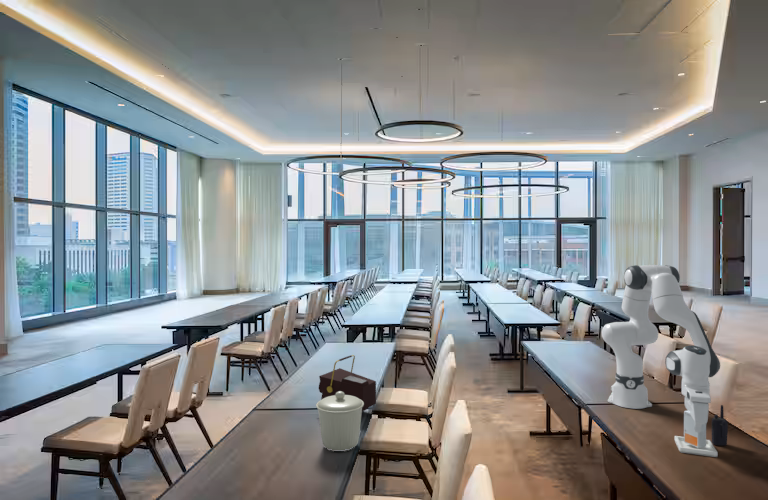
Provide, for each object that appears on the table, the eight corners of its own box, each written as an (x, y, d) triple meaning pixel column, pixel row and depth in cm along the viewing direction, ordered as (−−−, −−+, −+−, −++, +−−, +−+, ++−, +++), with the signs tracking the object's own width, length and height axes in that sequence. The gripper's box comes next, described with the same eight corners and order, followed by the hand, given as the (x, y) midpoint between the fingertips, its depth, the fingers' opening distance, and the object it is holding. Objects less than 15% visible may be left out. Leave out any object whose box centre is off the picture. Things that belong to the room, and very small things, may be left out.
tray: (674, 440, 191) (674, 435, 191) (709, 444, 187) (709, 440, 187) (680, 452, 181) (680, 447, 180) (717, 457, 176) (717, 452, 176)
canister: (320, 459, 177) (320, 401, 176) (313, 440, 194) (312, 386, 193) (369, 453, 182) (369, 396, 181) (358, 434, 199) (357, 382, 199)
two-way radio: (723, 442, 189) (723, 403, 189) (731, 447, 184) (732, 407, 184) (709, 442, 189) (709, 403, 188) (717, 447, 184) (717, 407, 184)
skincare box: (683, 442, 186) (683, 410, 186) (691, 440, 187) (691, 409, 187) (698, 448, 180) (698, 415, 180) (706, 446, 182) (706, 414, 182)
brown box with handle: (338, 403, 238) (338, 351, 237) (379, 411, 226) (379, 357, 226) (317, 413, 224) (316, 358, 223) (359, 422, 212) (359, 364, 211)
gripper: (680, 382, 194) (679, 416, 195) (691, 398, 175) (690, 436, 176) (698, 383, 192) (698, 419, 192) (712, 400, 173) (711, 439, 173)
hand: (694, 427), depth 184 cm, fingers closed on skincare box, 7 cm apart
